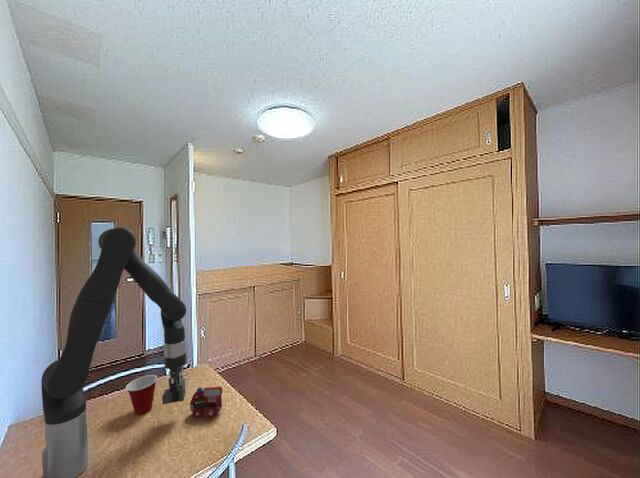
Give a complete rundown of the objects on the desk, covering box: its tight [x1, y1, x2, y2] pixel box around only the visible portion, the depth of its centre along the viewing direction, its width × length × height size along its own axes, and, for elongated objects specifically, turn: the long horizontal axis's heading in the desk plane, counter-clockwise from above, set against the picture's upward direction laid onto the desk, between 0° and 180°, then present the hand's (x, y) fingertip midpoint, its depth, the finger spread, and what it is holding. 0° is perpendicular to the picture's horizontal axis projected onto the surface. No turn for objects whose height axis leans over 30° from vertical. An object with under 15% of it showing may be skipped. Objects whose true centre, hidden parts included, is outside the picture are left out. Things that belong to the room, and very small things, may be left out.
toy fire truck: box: [189, 386, 223, 420], centre depth 111 cm, size 7×12×10 cm, turn 90°
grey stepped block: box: [161, 378, 187, 405], centre depth 108 cm, size 7×5×6 cm
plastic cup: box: [125, 374, 158, 416], centre depth 114 cm, size 11×11×12 cm
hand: (177, 396), depth 108 cm, fingers closed on grey stepped block, 5 cm apart
